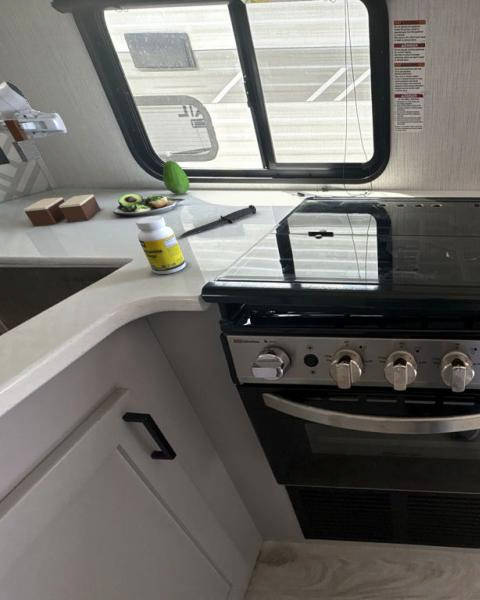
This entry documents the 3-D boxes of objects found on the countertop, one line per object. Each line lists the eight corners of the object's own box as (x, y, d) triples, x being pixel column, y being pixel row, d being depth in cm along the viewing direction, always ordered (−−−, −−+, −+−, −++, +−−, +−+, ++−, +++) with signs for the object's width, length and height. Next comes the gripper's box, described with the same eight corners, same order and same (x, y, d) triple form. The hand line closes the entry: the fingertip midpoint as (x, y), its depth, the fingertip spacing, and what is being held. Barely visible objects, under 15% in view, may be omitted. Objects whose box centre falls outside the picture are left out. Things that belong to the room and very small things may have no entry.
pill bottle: (146, 274, 70) (122, 223, 64) (169, 261, 75) (149, 213, 69) (171, 276, 68) (149, 225, 63) (193, 263, 74) (174, 215, 68)
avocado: (185, 196, 122) (173, 162, 116) (164, 196, 123) (151, 162, 116) (197, 191, 129) (186, 158, 123) (177, 191, 129) (165, 158, 123)
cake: (88, 220, 101) (79, 203, 98) (33, 226, 96) (23, 209, 94) (100, 209, 110) (93, 194, 107) (51, 214, 106) (42, 199, 103)
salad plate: (189, 198, 120) (184, 185, 118) (183, 212, 106) (178, 197, 104) (126, 205, 114) (119, 191, 111) (111, 220, 100) (103, 205, 97)
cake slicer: (30, 161, 110) (7, 120, 103) (21, 162, 109) (-3, 121, 103) (44, 157, 118) (23, 118, 111) (35, 157, 117) (13, 119, 110)
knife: (250, 209, 105) (251, 202, 103) (260, 218, 104) (261, 212, 102) (170, 231, 88) (169, 224, 86) (180, 243, 87) (180, 236, 86)
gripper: (-12, 115, 113) (-37, 117, 102) (63, 113, 120) (46, 114, 109) (1, 135, 116) (-23, 139, 106) (72, 132, 123) (57, 136, 112)
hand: (13, 127), depth 107 cm, fingers closed on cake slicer, 2 cm apart
